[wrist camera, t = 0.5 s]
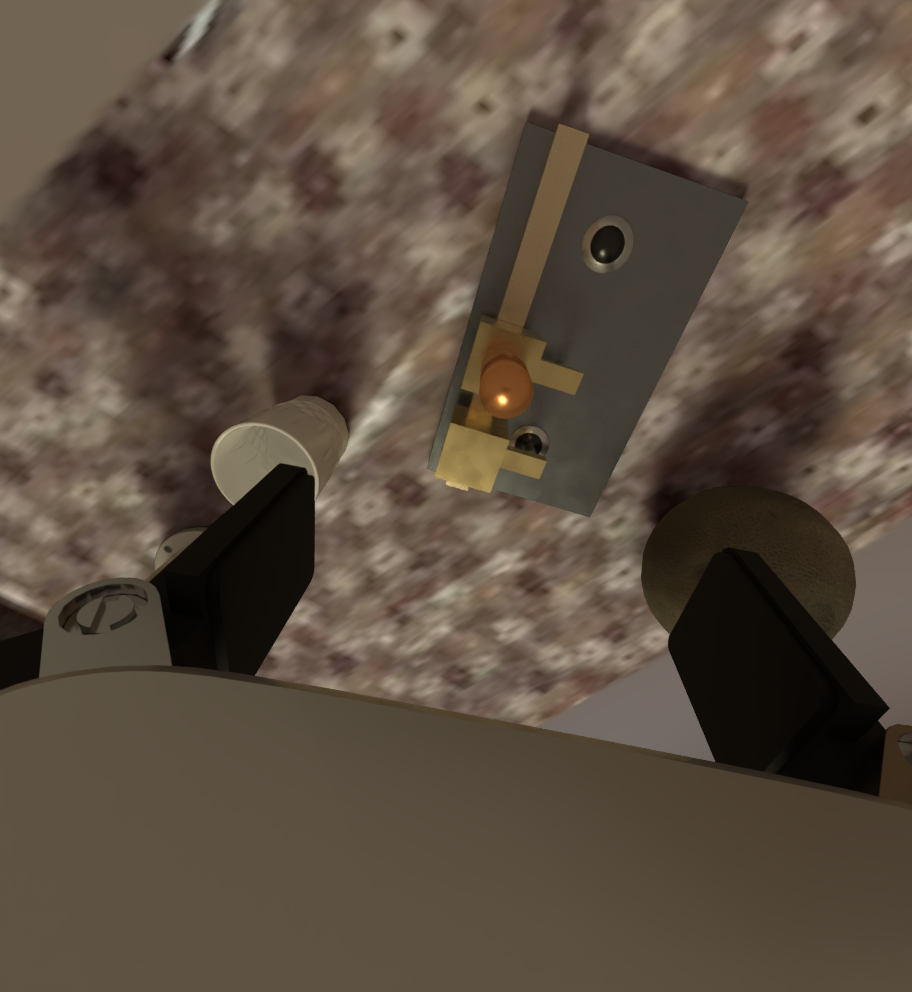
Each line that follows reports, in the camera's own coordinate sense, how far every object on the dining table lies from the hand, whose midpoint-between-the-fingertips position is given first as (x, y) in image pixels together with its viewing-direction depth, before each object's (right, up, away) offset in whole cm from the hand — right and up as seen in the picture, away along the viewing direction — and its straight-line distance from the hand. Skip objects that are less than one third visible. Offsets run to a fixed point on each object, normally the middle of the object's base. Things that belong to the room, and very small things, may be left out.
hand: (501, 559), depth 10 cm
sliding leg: (+4, +13, +25) cm, 28 cm away
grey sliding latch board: (+8, +13, +26) cm, 30 cm away
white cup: (-14, +8, +31) cm, 35 cm away
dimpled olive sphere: (+22, -1, +32) cm, 39 cm away
